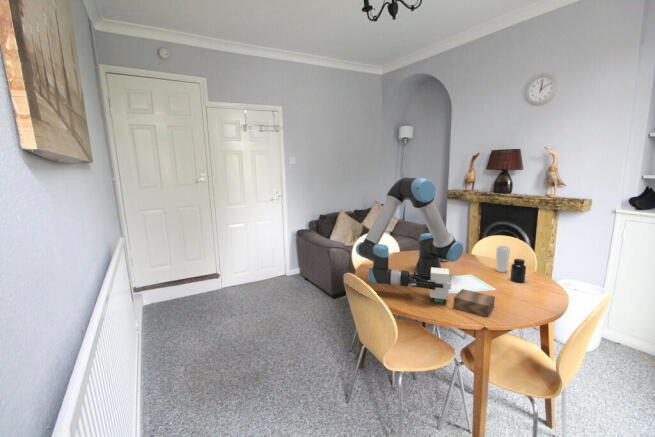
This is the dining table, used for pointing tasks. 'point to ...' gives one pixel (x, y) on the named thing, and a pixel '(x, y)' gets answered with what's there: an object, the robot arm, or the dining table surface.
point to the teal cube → (438, 300)
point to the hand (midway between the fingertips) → (450, 282)
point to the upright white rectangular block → (439, 276)
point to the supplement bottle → (518, 271)
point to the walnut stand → (474, 302)
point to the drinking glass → (502, 258)
